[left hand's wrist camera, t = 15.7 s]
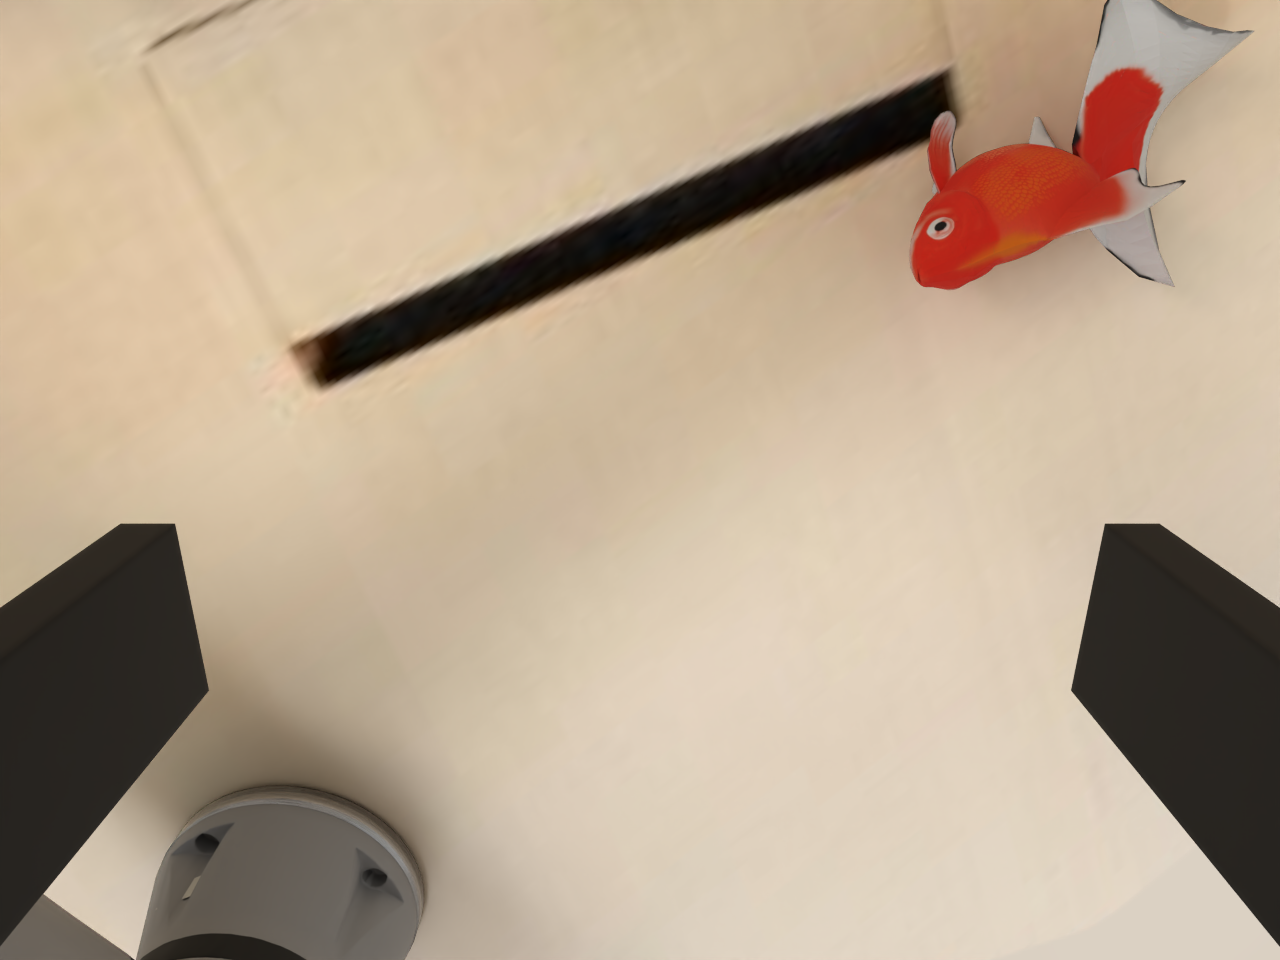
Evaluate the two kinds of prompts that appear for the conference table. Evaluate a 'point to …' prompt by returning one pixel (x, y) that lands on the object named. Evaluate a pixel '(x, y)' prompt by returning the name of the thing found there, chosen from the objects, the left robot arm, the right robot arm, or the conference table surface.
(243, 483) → the conference table surface
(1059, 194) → the fish
